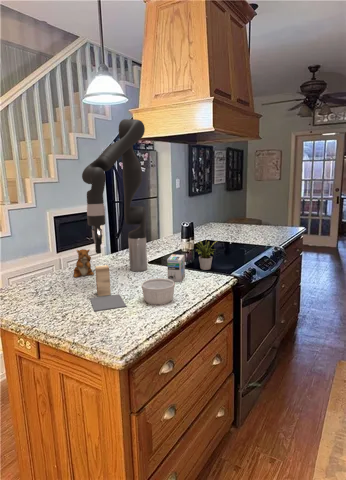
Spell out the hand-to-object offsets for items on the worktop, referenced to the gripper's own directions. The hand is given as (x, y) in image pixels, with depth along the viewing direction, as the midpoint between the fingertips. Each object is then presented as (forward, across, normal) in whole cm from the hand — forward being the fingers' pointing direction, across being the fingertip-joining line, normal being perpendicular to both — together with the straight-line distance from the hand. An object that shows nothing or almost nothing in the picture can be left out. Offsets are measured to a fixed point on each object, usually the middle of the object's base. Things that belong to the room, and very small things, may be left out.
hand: (98, 253), depth 152 cm
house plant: (+15, +8, -55) cm, 58 cm away
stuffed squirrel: (+15, +24, +5) cm, 29 cm away
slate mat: (+16, -21, 0) cm, 27 cm away
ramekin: (+16, -26, -19) cm, 36 cm away
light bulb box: (+16, -3, -36) cm, 39 cm away
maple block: (+16, -11, 0) cm, 19 cm away
